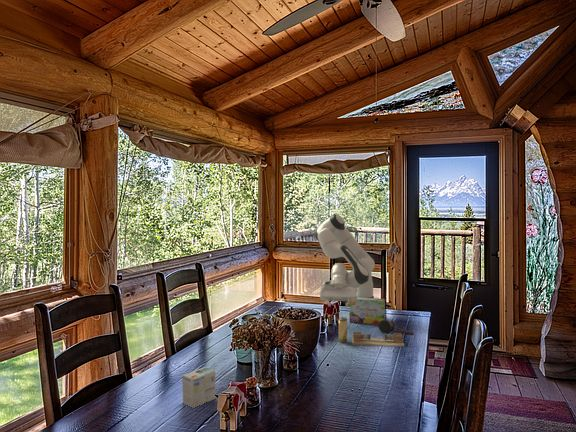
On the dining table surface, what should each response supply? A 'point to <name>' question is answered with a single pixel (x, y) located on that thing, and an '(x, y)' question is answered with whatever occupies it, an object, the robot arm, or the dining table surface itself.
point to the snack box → (367, 310)
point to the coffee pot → (390, 327)
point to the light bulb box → (198, 387)
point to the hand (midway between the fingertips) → (338, 306)
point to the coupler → (342, 330)
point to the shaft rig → (377, 340)
